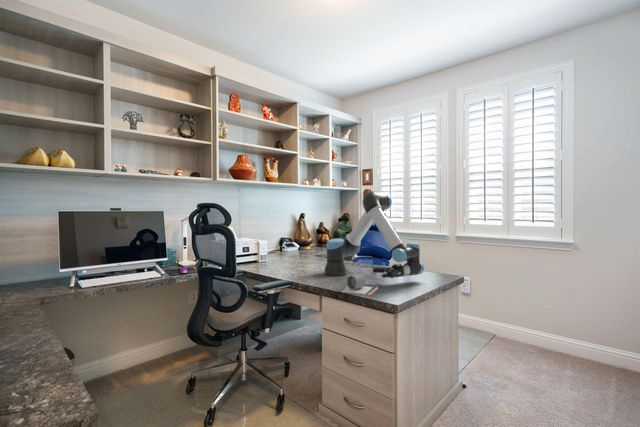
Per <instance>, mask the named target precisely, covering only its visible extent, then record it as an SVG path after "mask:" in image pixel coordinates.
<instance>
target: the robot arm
mask: <svg viewBox="0 0 640 427" xmlns="http://www.w3.org/2000/svg"><path fill="white" fill-rule="evenodd" d="M392 204H393V200H392V196H391V195H390V193H388V192H385V191H373V190H372V191H369V192H366V193H365V194H364V195H363V197H362V206H363V209H364V212H363V214H362V216H360V218H359V220H358V221H357V223H356V224H355V226H354V228H352V231H351V232H350V233H347V234H346V235H345V237H344V238H341V237H339V238H332V239H328V240H327V242H326V265H325V268H324V271H323V272H324V273H323V274H324V275H325V276H330V277H338V276H345V275H347V268H346V264H345V257H352V256H355V255H357V254H358V253H359V252H360V250H361V244H362V243H361V241H362V239H363V238H364V236H365V235H366V234H367V231H369V229H370V228H371V226H372V225H373V223H374V224H375V226H376V227H377V229H378V231H379V232H380V234H381V235H382V237H383V238H384V241H385V242H386V243H387V245H388V246H389V248H390V250H391V251H392V252H391V257H392V260H393V261H395V262H396V263H394V264H392V265H391V267H389V266H379V267H378V266H376V267H374V266H373V267H371V266H370V268H362V274H363V275H366V274H374V273H376V276H375V277H376V279H385V278H390V279H393V278H399V277H402V278H406V277H407V276H418V275H421V274H423V273H424V271H425V267H424V264H423V263H422V262H421V261H420V257H421V255H420V254H421V253H420V252H421V251H420V250H421V249H420V244H419V242H411V241H410V242H407V243H406V245H405V244H404V243H403V241H402V240H401V239H400V236H398V234H397V232H396V230H395V228H394V227H393V226H392V224H391V222H390V221H389V219H388V218H387V217H386V214H385V213H384V212H385V211H386V210H388V209H390V208H391V206H392ZM403 262H404V263H403Z"/></svg>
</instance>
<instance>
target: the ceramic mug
mask: <svg viewBox="0 0 640 427" xmlns="http://www.w3.org/2000/svg"><path fill="white" fill-rule="evenodd" d="M345 285H346V288H347V287H348V288H349V289H351V290H354V289H358V288H362V287H364V286H366V278H365V276H363V275H362V274H354V275H353V274H351V275H349V276H348V277H347V279H346V283H345Z"/></svg>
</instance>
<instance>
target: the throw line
mask: <svg viewBox="0 0 640 427" xmlns="http://www.w3.org/2000/svg"><path fill="white" fill-rule="evenodd" d="M379 288H380V287H378V286H376V287H375V288H374V289H373V290H372V289H371V290H370V291H369V292H368V294H367V296H369V297H370V296H372V295H374V293H375V292H376V291H377V290H379Z"/></svg>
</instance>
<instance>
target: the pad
mask: <svg viewBox="0 0 640 427" xmlns="http://www.w3.org/2000/svg"><path fill="white" fill-rule="evenodd" d="M373 288H374V287H373V286H366V285H364V287H362V288H358V289H354V290H351V289H349V288H348V287H347V286H346V287H345V288H344V289H342V290H341V293H349V294H356V295H365V296H366V294H367V293H369V292H371V291H372V289H373Z"/></svg>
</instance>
